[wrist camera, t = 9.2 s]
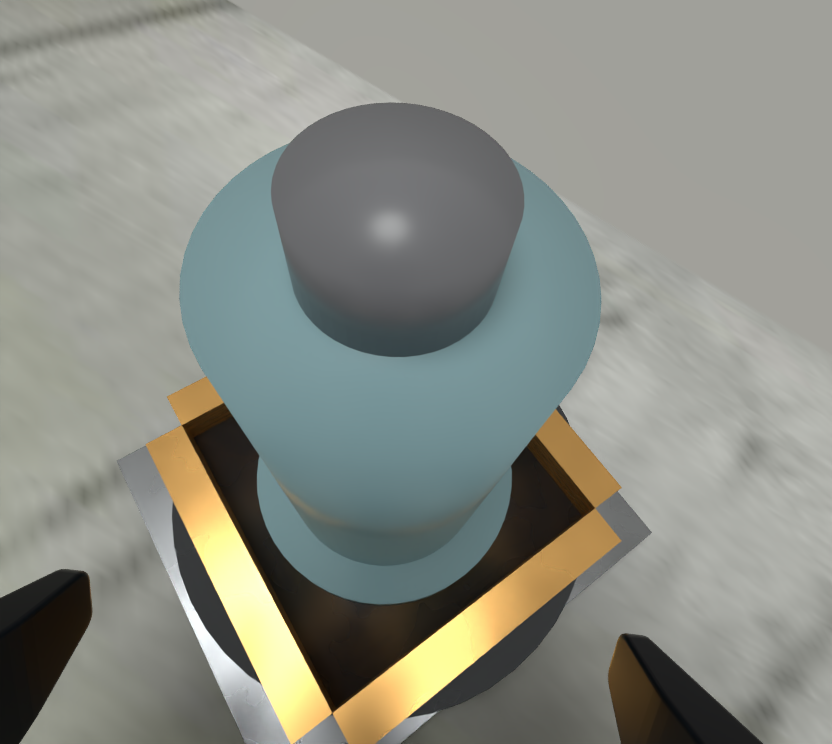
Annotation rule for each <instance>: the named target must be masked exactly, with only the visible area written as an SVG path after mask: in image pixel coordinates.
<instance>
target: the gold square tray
mask: <svg viewBox="0 0 832 744" xmlns="http://www.w3.org/2000/svg"><path fill="white" fill-rule="evenodd" d="M167 398H168V400H169V402H170V404H171V406H172V408H173V409H174V411H175V413H176V415H177V417H178V419H179V421H180V423H181V426H179V427H177V428H176V429H174V430H172V431H170V432H168V433H166V434H164V435H162V436H161V437H159V438H157V439H155V440H153V441H151V442H149V443H147V444H146V446H144V447H142V448H140V449H138V450H136V451H134V452H132V453H131V454H129V455H127V456H125V457H123V458H121V459H119V460H118V461H117V463H118V465H119V467H120V470H121V472H122V474H123V476H124V478H125V480H126V483H127V485H128V487H129V489H130V491H131V494H132V496H133V498H134V500H135V502H136V505H137V507H138V509H139V511H140V513H141V516H142V518H143V520H144V522H145V524H146V527H147V529H148V531H149V533H150V535H151V537H152V540H153V542H154V544H155V546H156V548H157V551H158V553H159V555H160V557H161V559H162V562H163V564H164V566H165V568H166V570H167V573H168V575H169V577H170V579H171V581H172V584H173V586H174V588H175V590H176V592H177V595H178V597H179V599H180V601H181V603H182V605H183V608H184V610H185V612H186V614H187V616H188V619H189V621H190V623H191V625H192V627H193V630H194V632H195V634H196V636H197V638H198V641H199V643H200V645H201V647H202V649H203V652H204V654H205V656H206V658H207V660H208V663H209V665H210V667H211V669H212V671H213V673H214V676H215V678H216V680H217V682H218V684H219V687H220V689H221V691H222V693H223V695H224V698H225V700H226V702H227V704H228V706H229V709H230V711H231V713H232V715H233V717H234V720H235V722H236V724H237V726H238V728H239V730H240V733H241V735H242V737H243V739H244V741H245V744H400V743H401V742H402V741H404V740H405V739H406V738H407V737H408V736H410V735H411V734H412V733H413V732H414V731H416V730H417V729H418V728H419V727H420V726H422V725H423V724H424V723H425V722H426V721H428V720H429V719H430V718H431V717H432V716H434V715H435V714H436V713H437V712H438V711H440V710H443V709H446V708H449V707H452V706H455V705H458V704H461V703H463V702H464V701H466V700H468V699H470V698H472V697H474V696H476V695H478V694H480V693H482V692H484V691H485V690H487V689H489V688H491V687H492V686H493V685H495V684H496V683H497V682H499V681H500V680H501V679H503V678H504V677H506V676H507V675H508V674H510V673H511V672H512V671H514V670H515V669H516V668H517V667H518V666H519V665H520V664H521V663H522V662H523V661H524V660H525V659H526V658H527V657H528V656H529V655H530V654H531V653H532V652H533V651H534V650H535V649H536V648H537V647H538V645H539V644H540V643H541V641H542V640H543V639H544V637H545V636H546V635H547V634H548V632H549V631H550V630H551V628H552V627H553V626H554V624H555V622H556V621H557V619H558V617H559V615H560V613H561V612H562V610H563V608H564V606H565V605H566V604H567V603H568V602H570V601H571V600H572V599H573V598H574V597H576V596H577V595H578V594H579V593H580V592H582V591H583V590H584V589H585V588H586V587H588V586H589V585H590V584H591V583H592V582H594V581H595V580H596V579H597V578H598V577H600V576H601V575H602V574H603V573H604V572H605V571H607V570H608V569H609V568H610V567H611V566H613V565H614V564H615V563H616V562H617V561H619V560H620V559H621V558H622V557H623V556H625V555H626V554H627V553H628V552H629V551H631V550H632V549H633V548H634V547H635V546H637V545H638V544H639V543H640V542H641V541H643V540H644V539H645V538H646V537H647V536H648V535H650V534H651V533H652V532H651V531H650V530H649V528H648V527H647V526H646V525H645V524H644V522H643V521H642V520H641V519H640V518H639V517H638V515H637V514H636V513H635V512H634V511H633V509H632V508H631V507H630V506H629V505H628V503H627V502H626V501H625V500H624V499H623V497H622V496H621V495H620V494H619V493H618V490H619V489H621V488H622V487H621V486H620V485H619V484H618V483H617V481H616V480H615V479H614V478H613V477H612V475H611V474H610V473H609V472H608V471H607V469H606V468H605V467H604V466H603V465H602V464H601V462H600V461H599V460H598V459H597V458H596V456H595V455H594V454H593V453H592V452H591V450H590V449H589V448H588V447H587V446H586V445H585V443H584V442H583V441H582V440H581V439H580V437H579V436H578V435H577V434H576V433H575V432H574V430H573V429H572V428H571V427H570V425H569V423H568V420H567V418H566V416H565V414H564V413H563V411H562V409H561V408H560V406H559V405H558V407H557V408H556V409H555V410H554V412H553V413H552V414H551V415H550V417H549V418H548V419H547V420H546V422H545V423H544V424H543V426H542V427H541V428H540V429H539V431H538V432H537V433H536V434H535V436H534V437H533V438H532V439H531V441H530V442H529V443H528V445H527V446H526V447H525V448H524V450H523V451H522V452H521V453H520V455H519V456H518V457H517V458H516V460H515V461H514V462H513V464H512V465H511V469H512V487H511V494H510V501H509V506H508V509H507V513H506V516H505V520H504V522H503V524H502V526H501V529H500V531H499V533H498V535H497V537H496V539H495V540H494V542H493V543H492V545H491V547H490V548H489V550H488V551H487V552H486V554H485V555H484V556H483V557H482V558H481V560H480V561H479V562H478V563H477V564H476V565H475V566H474V567H473V568H472V569H471V570H470V571H468V572H467V573H466V574H465V575H464V576H463V577H461V578H460V579H458V580H457V581H455V582H454V583H452V584H451V585H450V586H448V587H447V588H445V589H443V590H441V591H439V592H437V593H435V594H433V595H432V596H430V597H427V598H424V599H421V600H418V601H415V602H411V603H406V604H400V605H391V606H375V605H365V604H359V603H355V602H351V601H347V600H344V599H342V598H340V597H337V596H335V595H332V594H330V593H328V592H327V591H325V590H323V589H321V588H320V587H318V586H316V585H315V584H314V583H312V582H311V581H310V580H308V579H307V578H306V577H305V576H304V575H302V574H301V573H300V572H299V571H297V570H296V569H295V568H294V567H293V566H292V565H291V564H290V562H289V561H288V560H287V559H286V558H285V557H284V556H283V554H282V553H281V552H280V550H279V549H278V547H277V546H276V544H275V543H274V541H273V539H272V537H271V535H270V533H269V531H268V529H267V527H266V525H265V522H264V519H263V516H262V513H261V509H260V504H259V498H258V492H257V470H258V460H259V454H258V453H257V451H256V450H255V448H254V447H253V445H252V444H251V442H250V441H249V439H248V438H247V436H246V435H245V433H244V432H243V430H242V429H241V427H240V426H239V424H238V423H237V421H236V420H235V418H234V417H233V415H232V414H231V412H230V411H229V409H228V408H227V406H226V405H225V403H224V402H223V400H222V399H221V397H220V396H219V394H218V393H217V391H216V390H215V388H214V387H213V385H212V384H211V382H210V381H209V379H208V378H207V376H206V377H205V378H203V379H201V380H199V381H197V382H195V383H193V384H191V385H189V386H187V387H185V388H183V389H181V390H179V391H177V392H175V393H173V394H171V395H169V396H167Z"/></svg>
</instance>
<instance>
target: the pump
mask: <svg viewBox="0 0 832 744" xmlns="http://www.w3.org/2000/svg"><path fill="white" fill-rule="evenodd" d="M179 299H180V306H181V314H182V321H183V325H184V328H185V331H186V335H187V338H188V341H189V344H190V347H191V349H192V351H193V353H194V355H195V357H196V359H197V361H198V363H199V365H200V367H201V369H202V371H203V372H204V373H205V375H206V376H207V378H208V379H209V381H210V382H211V384H212V385H213V387H214V388H215V390H216V391H217V393H218V394H219V396H220V397H221V399H222V400H223V402H224V403H225V405H226V406H227V408H228V409H229V411H230V412H231V414H232V415H233V417H234V418H235V420H236V421H237V423H238V424H239V426H240V427H241V429H242V430H243V432H244V433H245V435H246V436H247V438H248V439H249V441H250V442H251V444H252V445H253V447H254V448H255V450H256V451H257V453H258V454H259V460H258V470H257V492H258V498H259V504H260V509H261V513H262V516H263V519H264V522H265V525H266V527H267V529H268V531H269V533H270V535H271V537H272V539H273V541H274V543H275V544H276V546H277V547H278V549H279V550H280V552H281V553H282V554H283V556H284V557H285V558H286V559H287V560H288V561H289V562H290V564H291V565H292V566H293V567H294V568H295V569H296V570H297V571H299V572H300V573H301V574H302V575H304V576H305V577H306V578H307V579H308V580H310V581H311V582H312V583H314V584H315V585H316V586H318V587H320V588H321V589H323V590H325V591H327V592H328V593H330V594H332V595H335V596H337V597H340V598H342V599H344V600H347V601H351V602H355V603H359V604H365V605H375V606H391V605H400V604H406V603H411V602H415V601H418V600H421V599H424V598H427V597H430V596H432V595H433V594H435V593H437V592H439V591H441V590H443V589H445V588H447V587H448V586H450V585H451V584H452V583H454V582H455V581H457V580H458V579H460V578H461V577H463V576H464V575H465V574H466V573H467V572H468V571H470V570H471V569H472V568H473V567H474V566H475V565H476V564H477V563H478V562H479V561H480V560H481V558H482V557H483V556H484V555H485V554H486V552H487V551H488V550H489V548H490V547H491V545H492V543H493V542H494V540H495V539H496V537H497V535H498V533H499V531H500V529H501V526H502V524H503V522H504V520H505V516H506V513H507V509H508V506H509V501H510V494H511V487H512V469H511V465H512V464H513V462H514V461H515V460H516V458H517V457H518V456H519V455H520V453H521V452H522V451H523V450H524V448H525V447H526V446H527V445H528V443H529V442H530V441H531V439H532V438H533V437H534V436H535V434H536V433H537V432H538V431H539V429H540V428H541V427H542V426H543V424H544V423H545V422H546V420H547V419H548V418H549V417H550V415H551V414H552V413H553V412H554V410H555V409H556V408H557V407H558V405H559V404H560V403H561V401H562V400H563V399H564V398H565V396H566V395H567V394H568V393H569V391H570V390H571V389H572V387H573V386H574V384H575V382H576V381H577V379H578V378H579V376H580V374H581V373H582V371H583V370H584V368H585V366H586V364H587V361H588V359H589V357H590V354H591V352H592V350H593V347H594V344H595V340H596V336H597V332H598V328H599V324H600V312H601V290H600V278H599V274H598V270H597V266H596V262H595V258H594V255H593V252H592V250H591V247H590V245H589V243H588V240H587V238H586V236H585V234H584V232H583V230H582V229H581V227H580V225H579V223H578V222H577V220H576V218H575V217H574V215H573V214H572V213H571V211H570V210H569V209H568V208H567V206H566V205H565V204H564V202H563V201H562V200H561V199H560V198H559V197H558V196H557V195H556V194H555V193H554V191H553V190H552V189H551V188H550V187H549V186H548V185H547V184H545V183H544V182H543V181H542V180H541V179H539V178H538V177H537V176H536V175H535V174H533V173H532V172H531V171H530V170H528V169H527V168H525V167H524V166H522V165H521V164H519V163H518V162H516V161H515V160H513V159H512V158H510V157H509V155H508V154H507V153H506V151H505V150H504V149H503V148H502V147H501V146H500V145H499V144H498V143H497V142H496V140H494V139H493V138H492V137H490V135H488V134H487V133H486V132H485V131H483V130H482V129H480V128H479V127H477V126H475V125H474V124H472V123H470V122H468V121H466V120H465V119H463V118H461V117H458V116H455V115H453V114H451V113H448V112H445V111H442V110H439V109H435V108H432V107H427V106H422V105H416V104H407V103H374V104H367V105H360V106H356V107H352V108H348V109H344V110H341V111H339V112H336V113H333V114H331V115H328V116H326V117H324V118H322V119H320V120H318V121H317V122H315V123H313V124H312V125H310V126H308V127H307V128H306V129H305V130H303V131H302V132H301V133H300V134H298V135H297V136H296V137H295V138H294V139H293V140H292V141H291V142H290V143H289V144H287V145H284V146H282V147H280V148H278V149H276V150H274V151H272V152H270V153H268V154H267V155H265V156H263V157H262V158H260V159H258V160H257V161H255V162H254V163H252V164H250V165H249V166H248V167H247V168H245V169H244V170H243V171H242V172H240V173H239V174H238V175H236V176H235V177H234V178H233V179H232V180H231V181H230V182H229V183H228V184H227V185H226V186H225V187H224V188H223V189H222V190H221V191H220V192H219V193H218V194H217V195H216V196H215V198H214V199H213V200H212V202H211V203H210V204H209V206H208V207H207V208H206V210H205V211H204V212H203V214H202V216H201V218H200V219H199V221H198V223H197V225H196V227H195V228H194V230H193V232H192V235H191V237H190V240H189V243H188V246H187V248H186V251H185V254H184V259H183V264H182V269H181V274H180V298H179Z"/></svg>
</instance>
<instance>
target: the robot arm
mask: <svg viewBox="0 0 832 744" xmlns="http://www.w3.org/2000/svg"><path fill="white" fill-rule="evenodd" d="M91 617H92V600H91V589H90V579H89V576H88V574H87V573H86V572H84V571H78V570H70V569H61V570H57V571H55V572H53V573H51V574H49V575H47V576H45V577H43V578H41V579H39V580H36V581H34V582H32V583H30V584H28V585H26V586H24V587H22V588H20V589H18V590H16V591H14V592H12V593H10V594H8V595H5V596H3V597H1V598H0V744H19V743H20V742H21V740H22V739H23V737H24V736H25V734H26V733H27V731H28V730H29V728H30V727H31V725H32V723H33V722H34V720H35V719H36V717H37V715H38V714H39V712H40V710H41V709H42V707H43V705H44V704H45V702H46V700H47V698H48V697H49V695H50V693H51V691H52V690H53V688H54V686H55V684H56V682H57V681H58V679H59V677H60V675H61V674H62V672H63V670H64V668H65V666H66V665H67V663H68V661H69V659H70V658H71V656H72V654H73V652H74V651H75V649H76V647H77V645H78V643H79V642H80V640H81V638H82V636H83V635H84V633H85V631H86V629H87V627H88V625H89V623H90V620H91ZM608 682H609V689H610V693H611V698H612V703H613V708H614V712H615V717H616V722H617V727H618V731H619V736H620V741H621V744H763V743H762V742H761V741H760V740H759V739H758V738H757V737H755V736H754V735H753V734H752V733H751V732H750V731H749V730H748V729H747V728H746V727H745V726H744V725H742V724H741V723H740V722H739V721H738V720H737V719H736V718H735V717H734V716H733V715H732V714H731V713H729V712H728V711H727V710H726V709H725V708H724V707H723V706H722V705H721V704H720V703H719V702H718V701H716V700H715V699H714V698H713V697H712V696H711V695H710V694H709V693H708V692H707V691H706V690H705V689H703V688H702V687H701V686H700V685H699V684H698V683H697V682H696V681H695V680H694V679H693V678H691V677H690V676H689V675H688V674H687V673H686V672H685V671H684V670H683V669H682V668H681V667H680V666H678V665H677V664H676V663H675V662H674V661H673V660H672V659H671V658H670V657H669V656H668V655H667V654H665V653H664V652H663V651H662V650H661V649H660V648H659V647H658V646H657V645H656V644H655V643H654V642H652V641H651V640H650V639H649V638H648V637H646V636H643V635H635V634H627V633H625V634H622V635H620V637H619V638H618V641H617V644H616V647H615V651H614V654H613V657H612V661H611V664H610V667H609V673H608Z"/></svg>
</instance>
